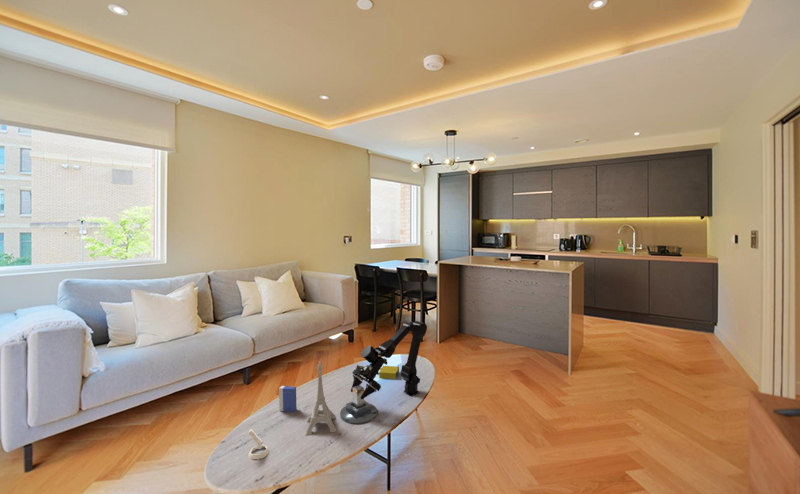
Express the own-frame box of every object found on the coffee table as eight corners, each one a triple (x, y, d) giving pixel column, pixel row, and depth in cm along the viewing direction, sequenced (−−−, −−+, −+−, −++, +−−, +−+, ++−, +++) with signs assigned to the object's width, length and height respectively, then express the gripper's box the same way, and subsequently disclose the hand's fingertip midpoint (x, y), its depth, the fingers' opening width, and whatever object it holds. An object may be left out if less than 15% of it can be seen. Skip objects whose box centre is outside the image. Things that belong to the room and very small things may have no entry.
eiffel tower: (335, 415, 164) (334, 355, 162) (336, 431, 150) (334, 366, 149) (307, 419, 161) (305, 357, 159) (305, 435, 148) (303, 368, 146)
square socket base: (364, 400, 178) (364, 392, 178) (384, 414, 164) (384, 405, 164) (333, 412, 167) (333, 403, 166) (352, 428, 153) (352, 418, 152)
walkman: (296, 409, 170) (296, 385, 169) (294, 412, 167) (293, 388, 166) (282, 408, 171) (281, 385, 170) (279, 410, 168) (278, 387, 168)
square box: (360, 408, 168) (359, 385, 167) (364, 411, 165) (364, 387, 164) (353, 411, 165) (352, 387, 165) (357, 414, 162) (357, 390, 162)
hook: (237, 438, 137) (252, 425, 140) (255, 460, 138) (270, 446, 141) (235, 445, 130) (251, 430, 133) (255, 468, 131) (270, 453, 134)
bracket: (377, 358, 218) (400, 359, 216) (378, 369, 219) (400, 371, 216) (371, 367, 203) (395, 369, 200) (371, 380, 204) (395, 382, 201)
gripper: (355, 353, 174) (336, 380, 167) (375, 364, 159) (355, 394, 153) (368, 364, 179) (350, 391, 173) (388, 376, 164) (370, 405, 158)
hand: (356, 395), depth 164 cm, fingers open, 9 cm apart
